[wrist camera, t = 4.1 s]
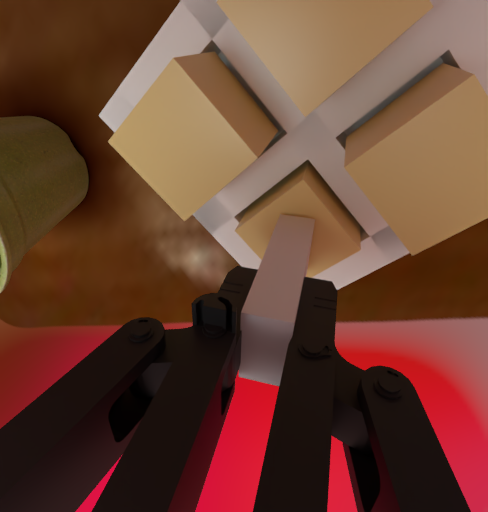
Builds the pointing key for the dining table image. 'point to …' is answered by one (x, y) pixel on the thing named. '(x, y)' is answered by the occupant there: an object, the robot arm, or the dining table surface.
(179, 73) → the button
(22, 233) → the plant pot
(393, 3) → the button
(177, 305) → the dining table surface
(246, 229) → the tan cube block
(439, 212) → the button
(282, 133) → the board
